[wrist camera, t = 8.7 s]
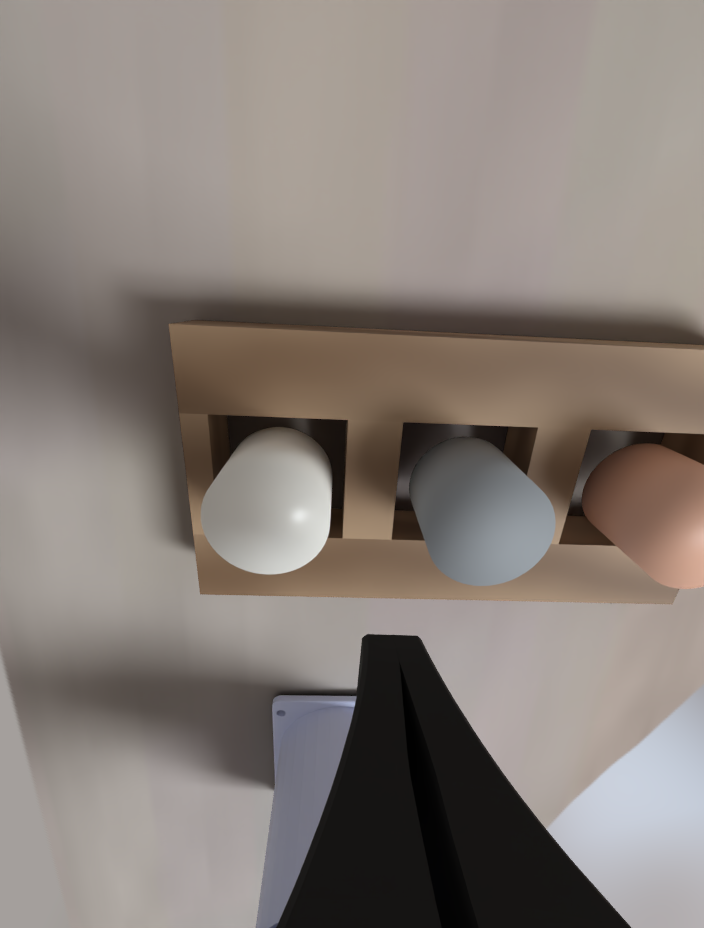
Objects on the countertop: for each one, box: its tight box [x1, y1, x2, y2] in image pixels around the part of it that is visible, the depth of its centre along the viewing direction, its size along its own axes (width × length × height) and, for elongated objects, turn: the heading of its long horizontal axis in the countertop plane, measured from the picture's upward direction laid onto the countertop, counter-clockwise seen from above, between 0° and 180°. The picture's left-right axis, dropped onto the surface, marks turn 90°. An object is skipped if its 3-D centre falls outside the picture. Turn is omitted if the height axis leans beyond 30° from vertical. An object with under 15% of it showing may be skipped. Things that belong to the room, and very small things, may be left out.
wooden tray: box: [169, 320, 704, 604], centre depth 17 cm, size 11×21×2 cm, turn 87°
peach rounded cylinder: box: [582, 443, 704, 589], centre depth 15 cm, size 4×4×4 cm
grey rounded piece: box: [409, 437, 556, 586], centre depth 14 cm, size 4×4×4 cm
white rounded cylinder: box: [201, 427, 332, 574], centre depth 14 cm, size 4×4×4 cm
